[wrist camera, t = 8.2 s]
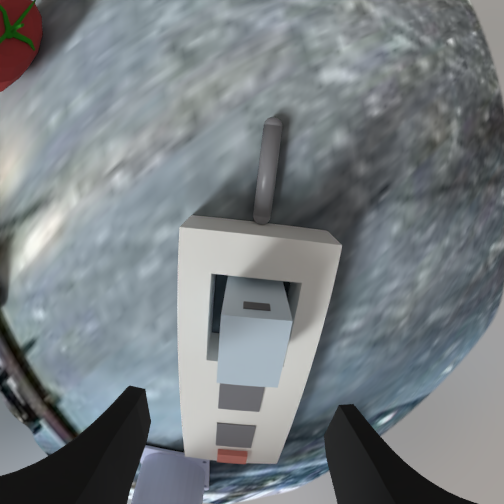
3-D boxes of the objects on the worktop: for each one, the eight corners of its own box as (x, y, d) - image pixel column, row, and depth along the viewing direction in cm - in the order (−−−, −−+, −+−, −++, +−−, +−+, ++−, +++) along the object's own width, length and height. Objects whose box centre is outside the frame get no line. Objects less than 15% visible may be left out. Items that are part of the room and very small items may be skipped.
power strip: (274, 439, 23) (277, 468, 20) (189, 431, 23) (184, 461, 19) (342, 130, 15) (365, 124, 12) (201, 111, 15) (188, 99, 11)
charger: (270, 324, 19) (277, 387, 13) (225, 320, 19) (216, 382, 13) (279, 268, 18) (292, 320, 12) (230, 263, 17) (221, 313, 12)
